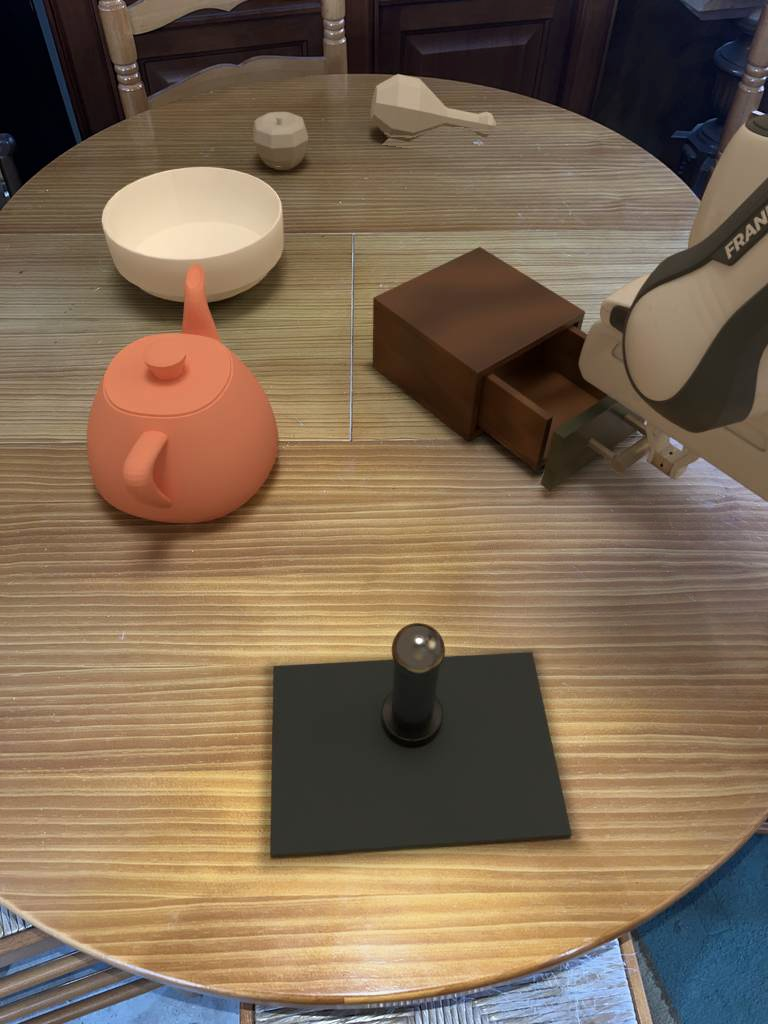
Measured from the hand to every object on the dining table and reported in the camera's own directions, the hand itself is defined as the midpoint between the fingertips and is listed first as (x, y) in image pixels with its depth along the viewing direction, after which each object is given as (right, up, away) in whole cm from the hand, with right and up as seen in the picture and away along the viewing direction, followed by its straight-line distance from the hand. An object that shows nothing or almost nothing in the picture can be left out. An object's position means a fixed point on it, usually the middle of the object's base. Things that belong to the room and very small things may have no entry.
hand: (665, 467), depth 70 cm
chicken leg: (-17, +52, +50) cm, 74 cm away
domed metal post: (-22, -19, -11) cm, 31 cm away
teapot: (-42, +1, +7) cm, 43 cm away
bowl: (-46, +24, +26) cm, 58 cm away
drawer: (-7, +4, +8) cm, 12 cm away
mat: (-22, -21, -12) cm, 33 cm away
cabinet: (-15, +11, +15) cm, 24 cm away
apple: (-38, +45, +44) cm, 74 cm away
